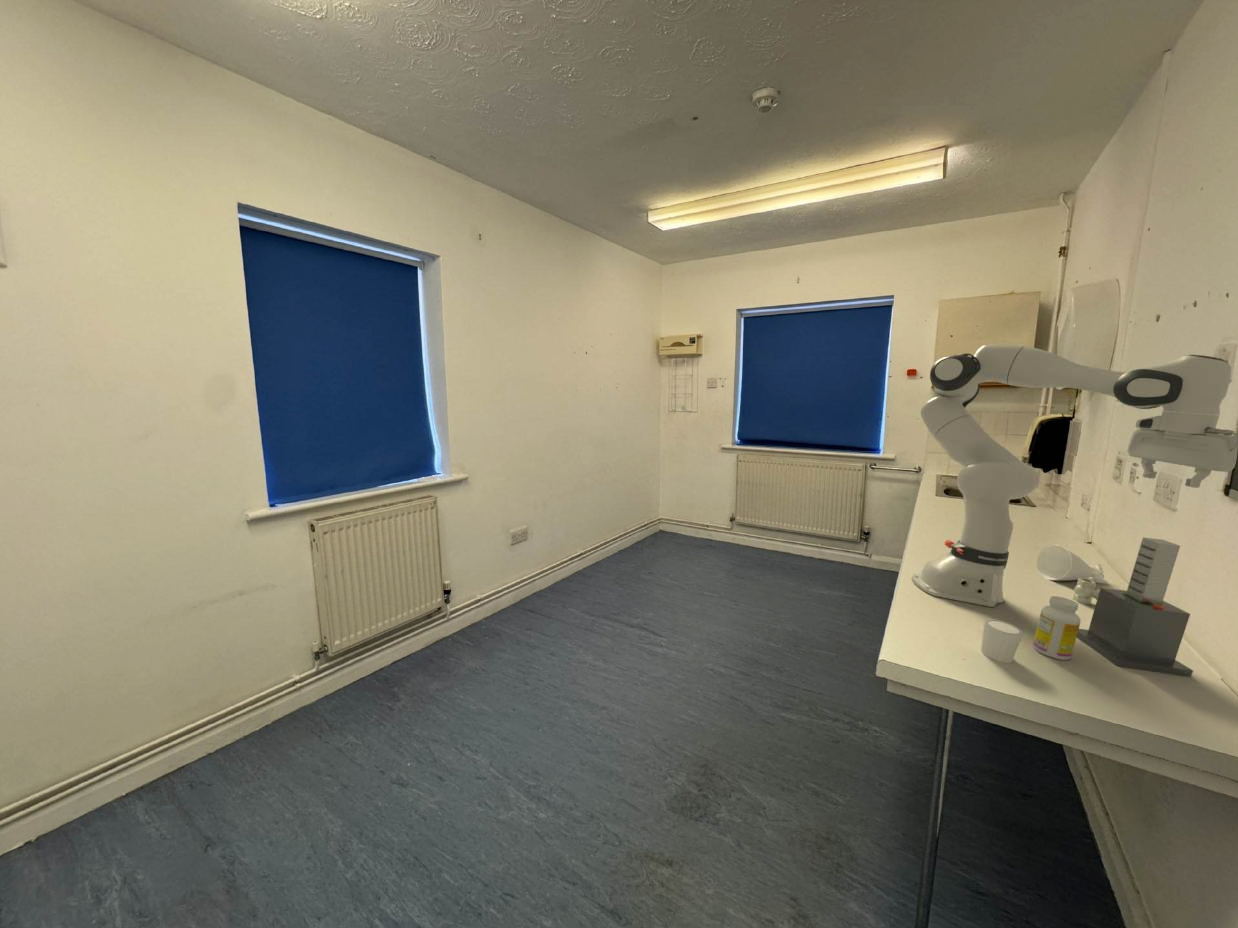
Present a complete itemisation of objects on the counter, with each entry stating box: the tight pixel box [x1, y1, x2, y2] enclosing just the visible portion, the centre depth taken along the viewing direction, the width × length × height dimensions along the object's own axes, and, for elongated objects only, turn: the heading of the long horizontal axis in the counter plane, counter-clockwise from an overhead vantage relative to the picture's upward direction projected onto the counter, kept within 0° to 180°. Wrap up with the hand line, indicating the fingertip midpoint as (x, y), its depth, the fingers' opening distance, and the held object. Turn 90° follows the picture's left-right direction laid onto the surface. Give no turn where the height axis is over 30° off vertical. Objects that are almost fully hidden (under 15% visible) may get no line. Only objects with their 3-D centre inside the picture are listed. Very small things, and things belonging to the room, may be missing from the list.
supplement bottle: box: [1032, 595, 1081, 661], centre depth 109 cm, size 7×7×13 cm
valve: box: [1072, 578, 1100, 605], centre depth 137 cm, size 7×7×12 cm
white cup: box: [980, 618, 1024, 664], centre depth 107 cm, size 7×7×7 cm
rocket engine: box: [1035, 544, 1108, 585], centre depth 155 cm, size 12×12×18 cm
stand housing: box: [1076, 587, 1194, 678], centre depth 111 cm, size 14×14×14 cm
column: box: [1125, 537, 1181, 605], centre depth 109 cm, size 4×4×20 cm
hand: (1169, 482), depth 117 cm, fingers open, 8 cm apart
